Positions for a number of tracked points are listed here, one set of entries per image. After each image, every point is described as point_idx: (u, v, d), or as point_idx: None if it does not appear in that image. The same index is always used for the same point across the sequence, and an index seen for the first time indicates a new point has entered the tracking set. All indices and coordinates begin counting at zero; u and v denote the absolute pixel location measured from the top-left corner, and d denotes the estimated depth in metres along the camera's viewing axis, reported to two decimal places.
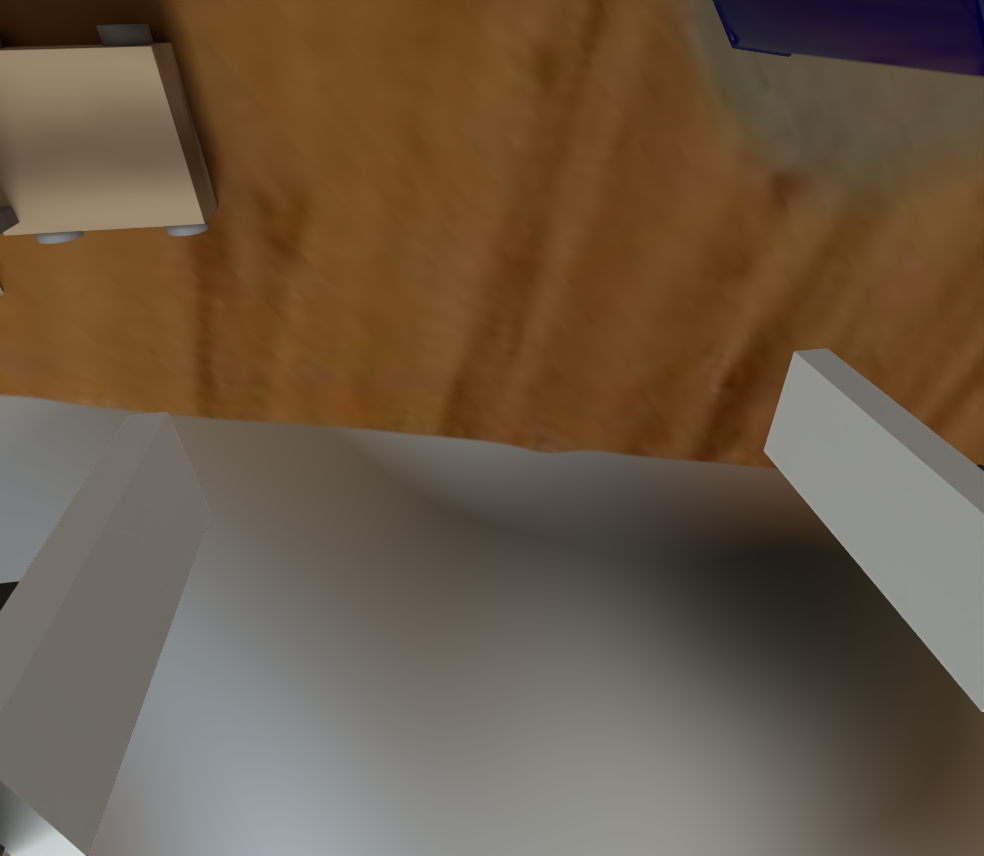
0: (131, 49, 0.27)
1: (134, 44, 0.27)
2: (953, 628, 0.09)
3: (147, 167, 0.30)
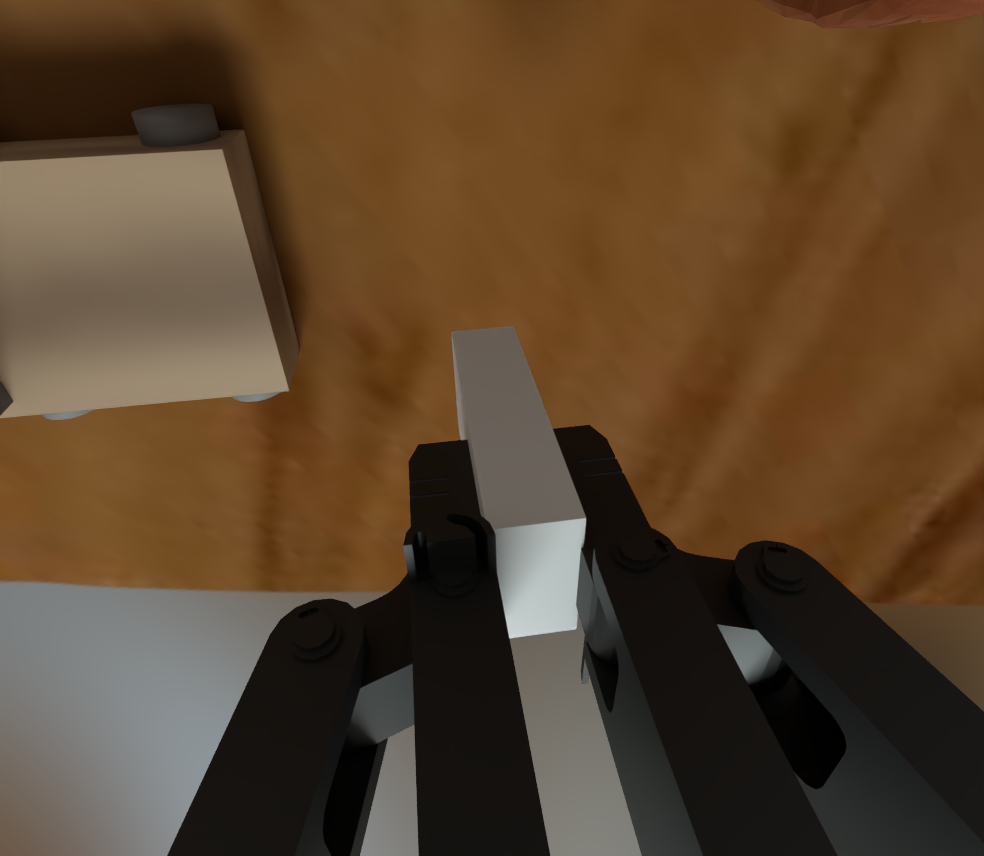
0: (189, 155, 0.16)
1: (192, 142, 0.17)
2: None
3: (209, 320, 0.19)
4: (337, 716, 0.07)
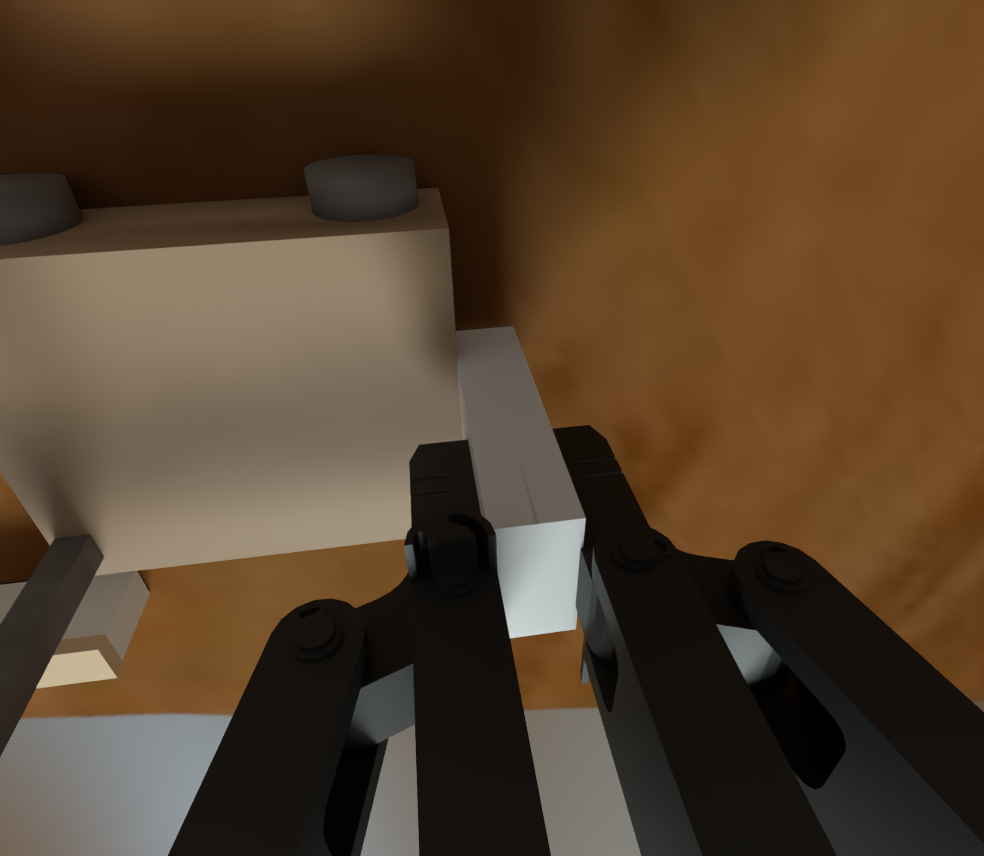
0: (401, 238, 0.11)
1: (393, 214, 0.12)
2: None
3: (383, 451, 0.14)
4: (338, 716, 0.07)
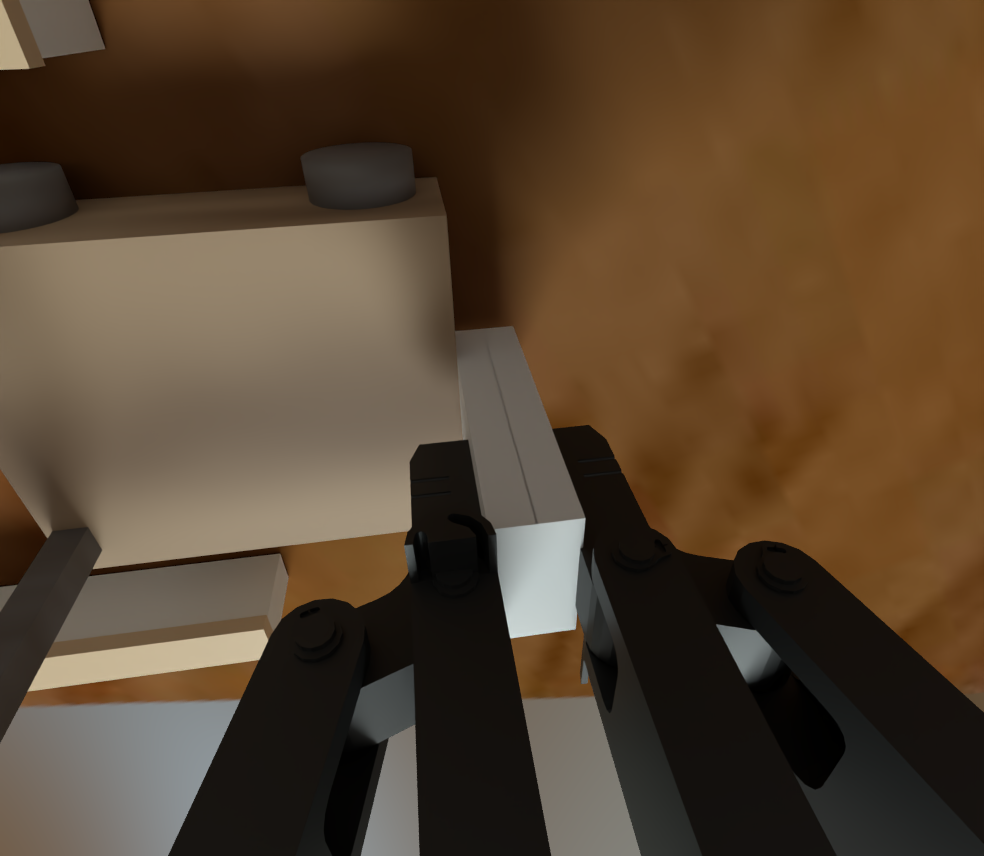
0: (399, 225, 0.11)
1: (390, 202, 0.12)
2: None
3: (382, 443, 0.14)
4: (338, 716, 0.07)
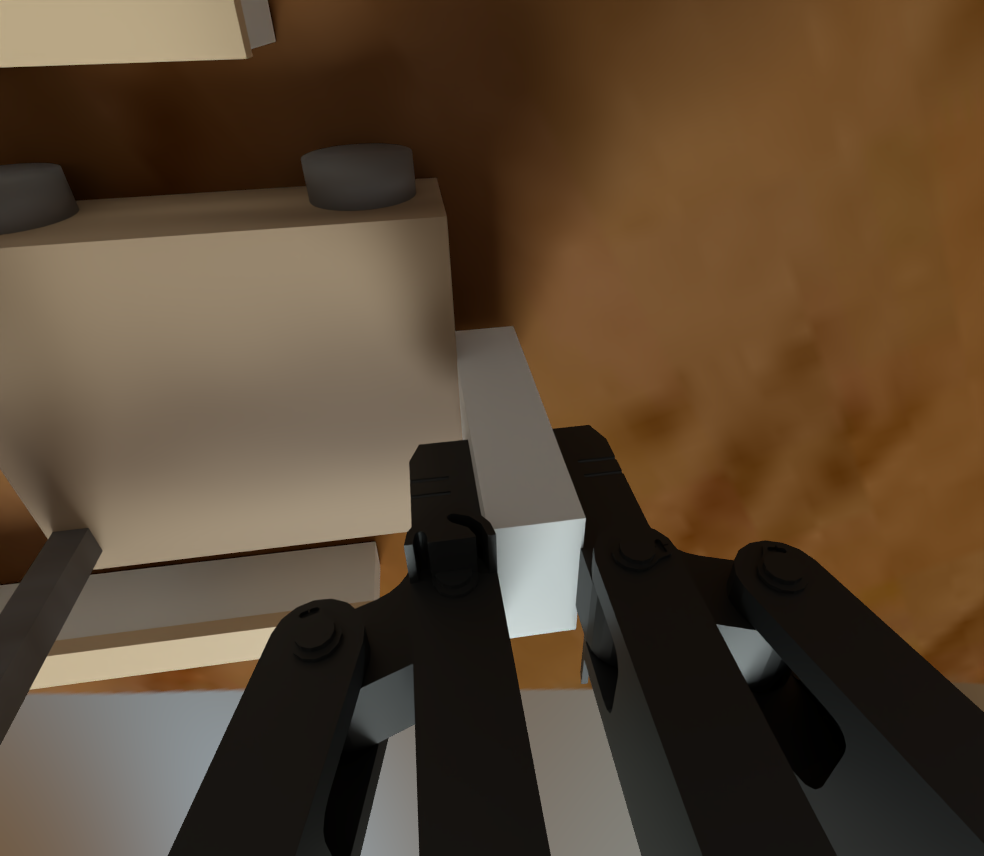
0: (399, 226, 0.11)
1: (390, 203, 0.12)
2: None
3: (382, 443, 0.14)
4: (338, 716, 0.07)
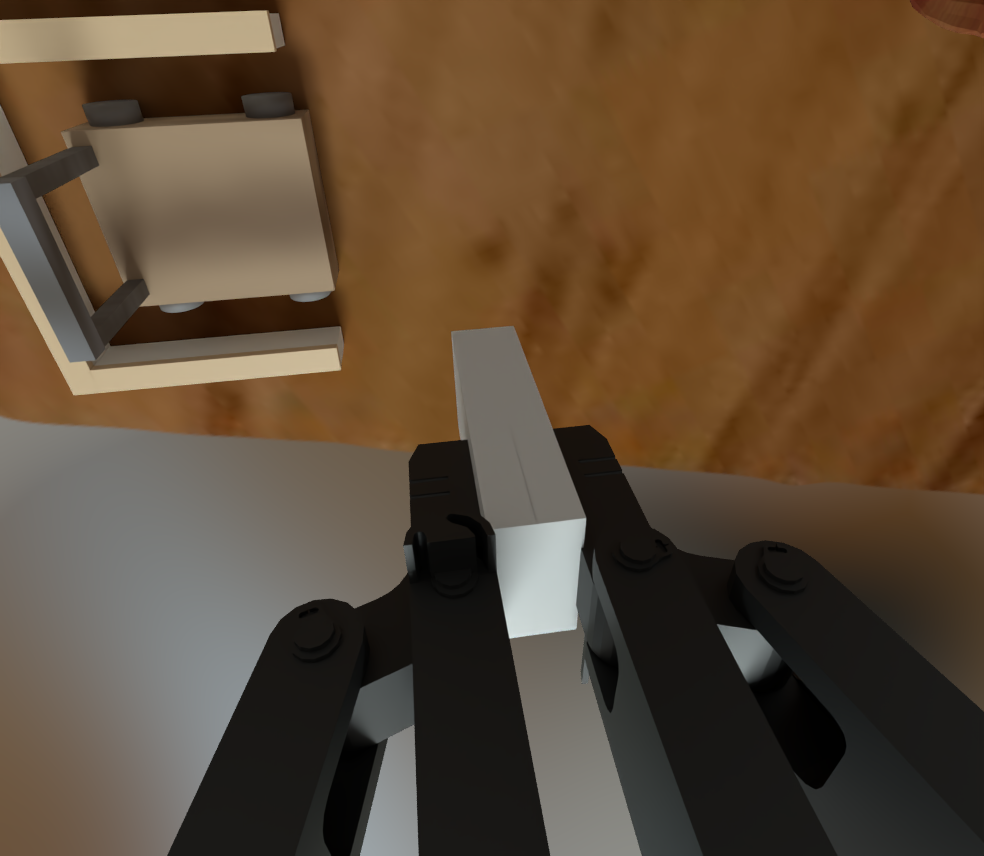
0: (280, 122, 0.26)
1: (280, 115, 0.27)
2: None
3: (284, 236, 0.29)
4: (337, 716, 0.07)
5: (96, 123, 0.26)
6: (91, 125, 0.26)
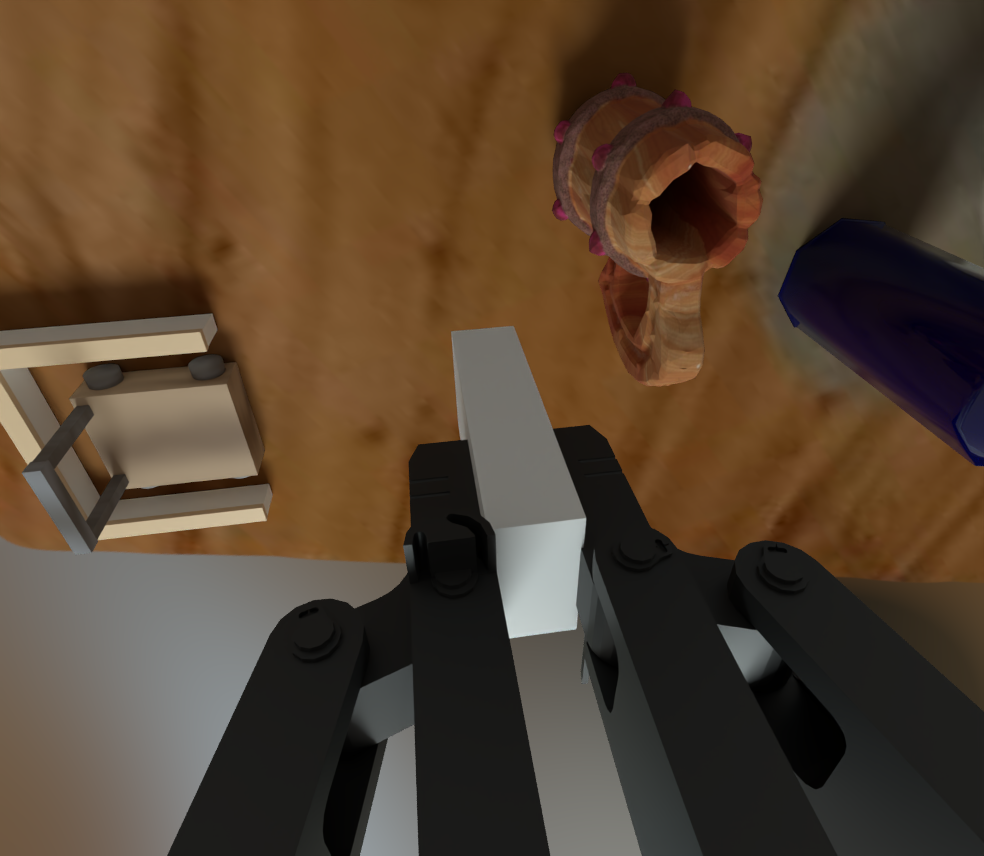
0: (213, 386, 0.39)
1: (214, 377, 0.40)
2: None
3: (220, 446, 0.42)
4: (337, 716, 0.07)
5: (92, 388, 0.39)
6: (89, 388, 0.39)
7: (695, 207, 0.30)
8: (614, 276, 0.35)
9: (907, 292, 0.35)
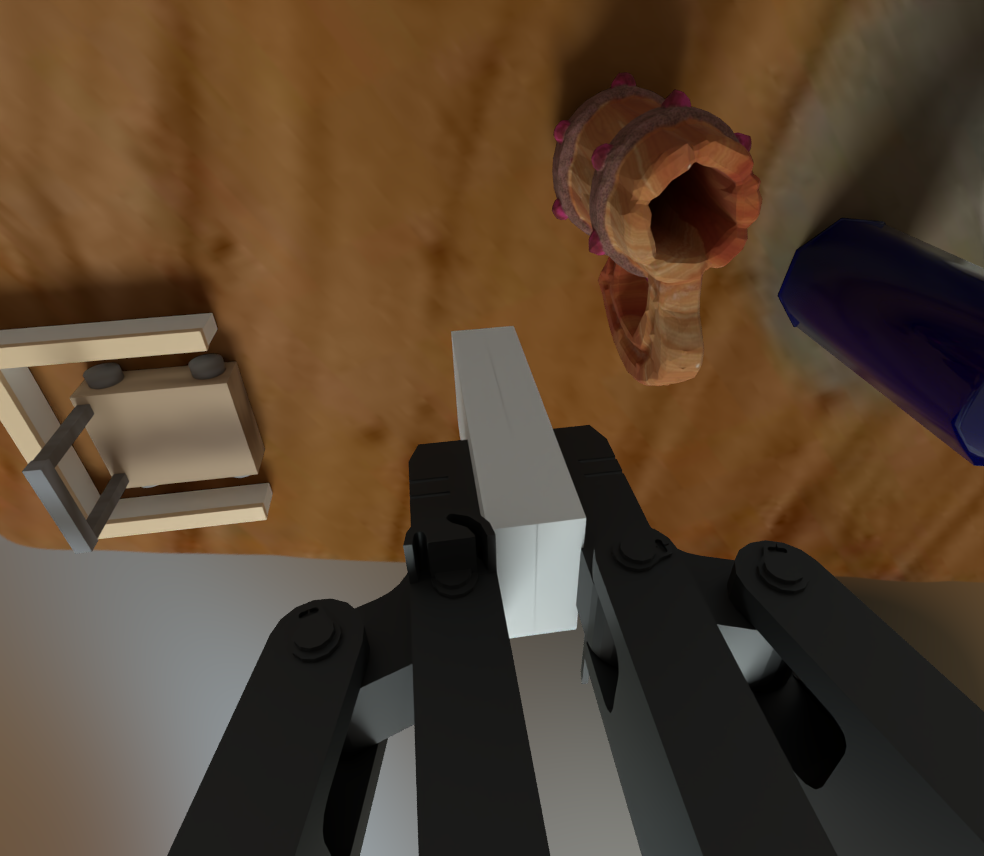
0: (213, 386, 0.39)
1: (214, 376, 0.40)
2: None
3: (220, 445, 0.42)
4: (337, 716, 0.07)
5: (92, 387, 0.39)
6: (89, 387, 0.39)
7: (695, 207, 0.30)
8: (614, 276, 0.35)
9: (907, 292, 0.35)
